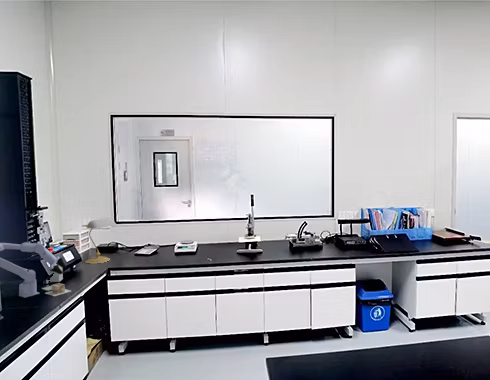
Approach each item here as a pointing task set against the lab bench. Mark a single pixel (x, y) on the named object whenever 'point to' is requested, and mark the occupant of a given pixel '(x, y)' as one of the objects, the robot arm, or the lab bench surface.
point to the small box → (56, 276)
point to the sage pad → (48, 288)
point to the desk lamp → (92, 224)
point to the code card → (57, 294)
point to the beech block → (58, 288)
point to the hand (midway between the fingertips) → (63, 270)
